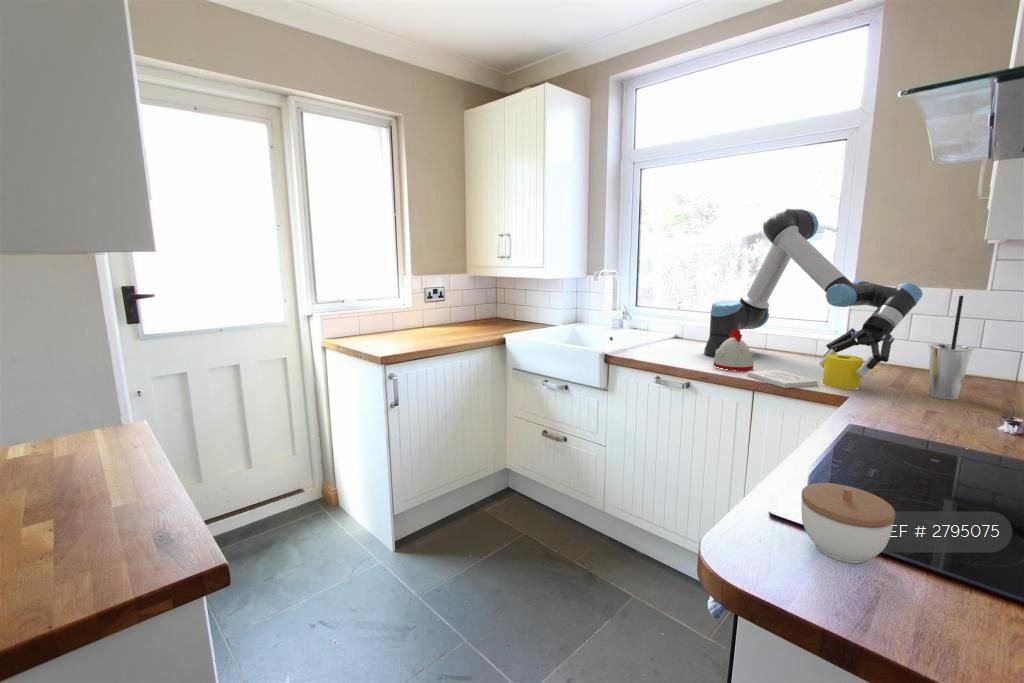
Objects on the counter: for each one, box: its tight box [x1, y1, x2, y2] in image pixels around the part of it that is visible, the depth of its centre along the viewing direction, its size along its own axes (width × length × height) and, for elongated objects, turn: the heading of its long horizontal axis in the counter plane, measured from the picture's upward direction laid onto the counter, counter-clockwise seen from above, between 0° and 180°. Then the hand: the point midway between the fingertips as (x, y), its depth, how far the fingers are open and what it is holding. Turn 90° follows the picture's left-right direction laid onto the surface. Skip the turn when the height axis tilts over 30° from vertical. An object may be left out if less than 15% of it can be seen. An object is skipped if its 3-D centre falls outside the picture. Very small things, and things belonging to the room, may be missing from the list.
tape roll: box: [822, 353, 863, 390], centre depth 154 cm, size 10×10×9 cm
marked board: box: [747, 369, 819, 389], centre depth 161 cm, size 17×13×2 cm
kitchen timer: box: [713, 329, 754, 372], centre depth 181 cm, size 14×14×15 cm
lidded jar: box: [801, 482, 896, 564], centre depth 66 cm, size 11×11×9 cm
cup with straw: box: [927, 295, 975, 401], centre depth 139 cm, size 11×11×30 cm
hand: (839, 370), depth 153 cm, fingers open, 13 cm apart
